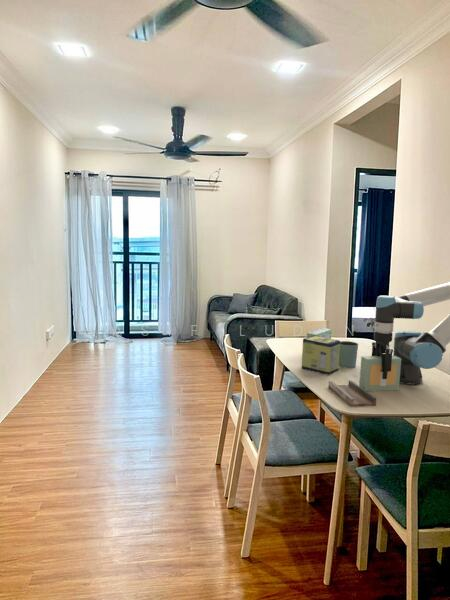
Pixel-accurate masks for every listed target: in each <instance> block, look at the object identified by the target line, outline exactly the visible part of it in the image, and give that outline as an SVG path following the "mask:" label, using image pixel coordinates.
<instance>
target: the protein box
mask: <svg viewBox="0 0 450 600" xmlns="http://www.w3.org/2000/svg"><path fill="white" fill-rule="evenodd" d="M340 342H341V340H339V339H332V338H331V339H328V338H322V337H316V336H311V337H308V338H307V337H305V338H302V354H301V355H302V357H301V370H305V369H306V371H309V370H310V371H311V372H313V371H314V373H317V372H318V374H323V375H326V376H331V375H332V374H334V373H337V372H338V371H339V369H340V366H339V350H340ZM310 371H309V372H310Z"/></svg>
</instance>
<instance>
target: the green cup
mask: <svg viewBox="0 0 450 600" xmlns="http://www.w3.org/2000/svg"><path fill="white" fill-rule="evenodd" d="M358 347H359V343H358V342H355V341H349V340H345V341H343V340H342V341H341V340H340V350H339V367H341V368H344V369H353V368H356V366H357V365H356V364H357V357H358V350H359V349H358Z"/></svg>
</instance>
